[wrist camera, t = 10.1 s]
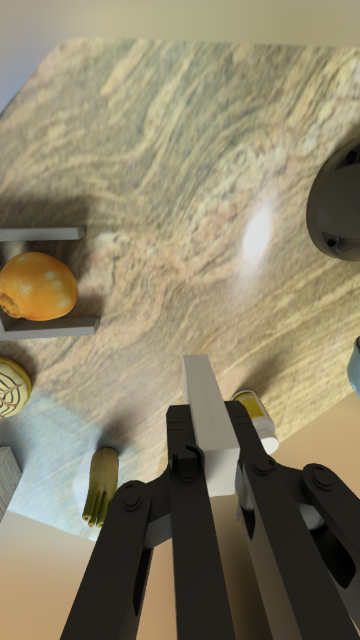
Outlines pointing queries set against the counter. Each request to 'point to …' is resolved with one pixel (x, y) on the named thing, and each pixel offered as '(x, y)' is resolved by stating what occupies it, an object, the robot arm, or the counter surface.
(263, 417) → the supplement bottle
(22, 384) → the decorated donut
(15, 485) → the medicine box
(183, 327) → the counter surface
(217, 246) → the counter surface
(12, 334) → the flagpole corner frame
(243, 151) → the counter surface
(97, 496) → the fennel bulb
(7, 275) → the fruit
